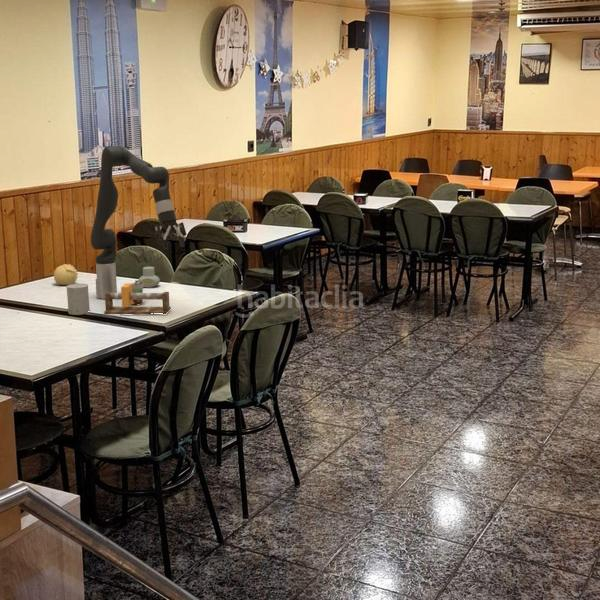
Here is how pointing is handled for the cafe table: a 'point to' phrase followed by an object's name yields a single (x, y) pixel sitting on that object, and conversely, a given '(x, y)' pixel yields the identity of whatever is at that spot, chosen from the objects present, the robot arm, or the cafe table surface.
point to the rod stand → (137, 310)
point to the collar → (126, 294)
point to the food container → (137, 290)
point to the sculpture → (65, 275)
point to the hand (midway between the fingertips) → (174, 247)
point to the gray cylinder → (78, 299)
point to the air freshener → (149, 277)
